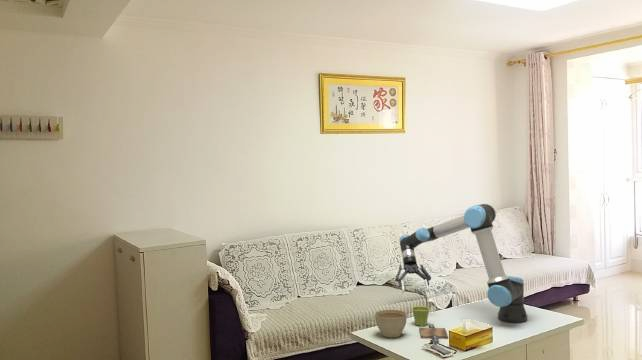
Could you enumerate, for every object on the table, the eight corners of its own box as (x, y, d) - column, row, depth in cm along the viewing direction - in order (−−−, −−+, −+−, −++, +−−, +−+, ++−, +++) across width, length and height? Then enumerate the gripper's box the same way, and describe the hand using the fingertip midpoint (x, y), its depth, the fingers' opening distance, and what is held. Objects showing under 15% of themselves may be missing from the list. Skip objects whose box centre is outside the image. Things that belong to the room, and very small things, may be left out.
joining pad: (444, 330, 276) (444, 328, 276) (447, 338, 263) (447, 336, 263) (419, 330, 278) (419, 327, 278) (421, 338, 265) (421, 335, 265)
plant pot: (410, 322, 291) (409, 306, 291) (427, 321, 292) (426, 305, 292) (414, 327, 282) (414, 311, 282) (432, 326, 283) (431, 310, 282)
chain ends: (434, 327, 281) (434, 324, 281) (439, 344, 256) (439, 340, 256) (428, 327, 281) (428, 324, 281) (432, 344, 256) (432, 340, 256)
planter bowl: (409, 331, 277) (408, 310, 276) (405, 341, 261) (405, 319, 261) (378, 329, 281) (377, 308, 281) (372, 339, 265) (372, 317, 265)
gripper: (429, 262, 315) (436, 293, 301) (387, 263, 314) (392, 295, 300) (431, 254, 310) (438, 286, 296) (388, 255, 309) (393, 288, 294)
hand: (415, 291), depth 298 cm, fingers open, 13 cm apart
